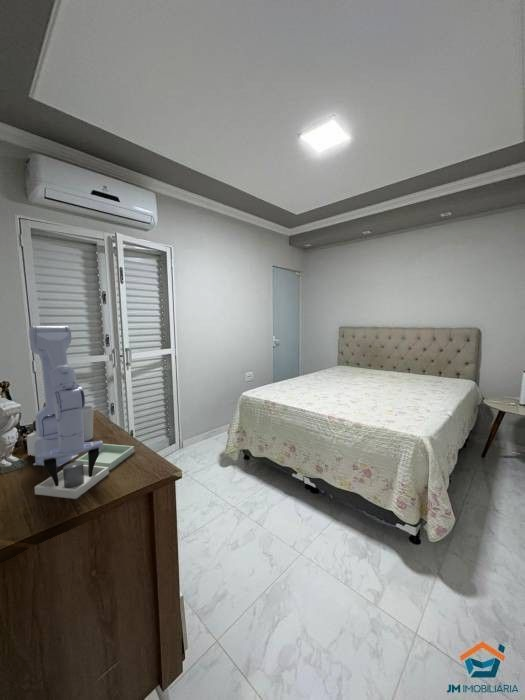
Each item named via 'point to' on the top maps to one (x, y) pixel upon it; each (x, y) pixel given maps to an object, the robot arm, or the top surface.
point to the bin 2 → (109, 455)
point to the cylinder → (73, 474)
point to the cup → (88, 422)
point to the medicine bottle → (32, 440)
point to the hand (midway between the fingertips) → (74, 479)
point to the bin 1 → (73, 493)
